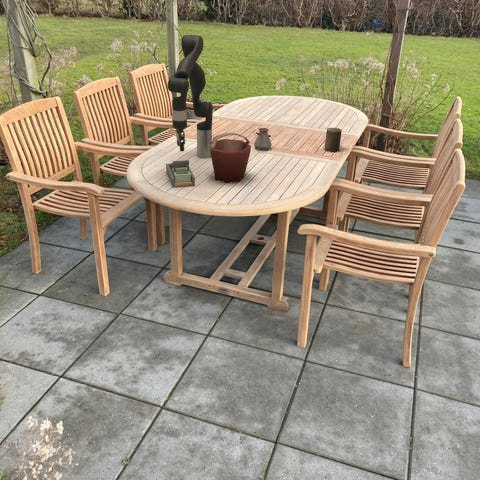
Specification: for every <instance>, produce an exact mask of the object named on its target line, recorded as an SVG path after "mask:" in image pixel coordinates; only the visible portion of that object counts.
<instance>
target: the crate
mask: <svg viewBox="0 0 480 480" xmlns="http://www.w3.org/2000/svg"><path fill="white" fill-rule="evenodd" d="M172 163H173V169H172V174H173V176H174V179H175V183H183V182H191V174H190V172H189V167H190V160H188V159H186V160H173V161H172ZM177 165H187V168H175V166H177Z"/></svg>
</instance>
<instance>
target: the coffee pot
mask: <svg viewBox="0 0 480 480" xmlns="http://www.w3.org/2000/svg"><path fill="white" fill-rule="evenodd" d="M257 130H258V131H259V132H257V131H256V132H254V133H253V135H255V134H256V138H255V141H254V147H255V148H256V149H257V150H258V151H268V150H269V149H270V148H272V146H273V144H272V141H271V139H270V136H269V134H268V132H269V131H270V130H269V129H268V128H267V127H260V128H258V129H257Z"/></svg>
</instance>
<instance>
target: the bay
mask: <svg viewBox="0 0 480 480" xmlns="http://www.w3.org/2000/svg"><path fill="white" fill-rule="evenodd" d="M175 168H187V165H177V166H175ZM165 169H166V171H165V172H166V175H167V177H168V180H169V182H170V185H171V188H172V189H175V188H187V187H195V186H196V183H195V182H196V179H195V178H196V177H195V176H194V173H193V171H192V169H191V168H190V166H189V172H190V174H191V182H183V183H175V179H174V176H173V174H172V169H173V162H172V163H171V162H169V163H165Z"/></svg>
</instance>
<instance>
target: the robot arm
mask: <svg viewBox="0 0 480 480" xmlns="http://www.w3.org/2000/svg"><path fill="white" fill-rule="evenodd" d="M180 44H181V50H182V54H183V57H184V58H183V59H181V60H180V61H179V62H178V66H177V67H176V70H175V72H174V73H173V74H172V75H171V76H170V77H169V79H168V81H167V90H168V91H169V92H170V93H176V94H177V93H178V94H180V96H174V97H173V98H172V99H171V106H172V111H171V119H172V120H171V121H172V123H171V125H172V128H173V129H175V137H176V138H175V139H176V146H177V147H179V151H180V152H185V145H186V137H185V135H186V133H185V131H184V129H187V128H188V115H187V114H188V113H187V97H188V92H189V89H190V93H191V97H192V107H193V113H194V116H195V117H196V118H203V119H205V120H203V121H200V122H197V123H196V157H198V158H200V159H207V158H211V153H210V148H209V146H210V142H212V140H213V136H212V135H213V115H214V108H213V107H214V106H213V103H212V102H210V101H202V100H200V96H201V94H202V93H203V91H204V90H205V88H206V84H207V82H206V81H207V80H206V74H205V71H204V70H203V68H202V67H201V66H200V64H199V63H198V62H197V61H198V59H199V58H200V56H201V54H202V52H203V50H204V45H205V44H204V39H203V37H202V36H201V35H199V34H197V35H196V34H184V35H183V36H182V37H181V42H180Z"/></svg>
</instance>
